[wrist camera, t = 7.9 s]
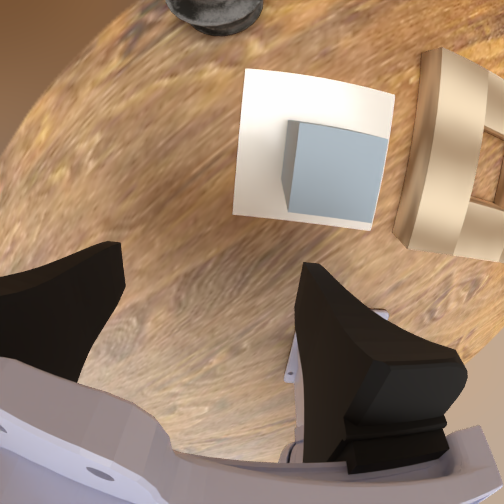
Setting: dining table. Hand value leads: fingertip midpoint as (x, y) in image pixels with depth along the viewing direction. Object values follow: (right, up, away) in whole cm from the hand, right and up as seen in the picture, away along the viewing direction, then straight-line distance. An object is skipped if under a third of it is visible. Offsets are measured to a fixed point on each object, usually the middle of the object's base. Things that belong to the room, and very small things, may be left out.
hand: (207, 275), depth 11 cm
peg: (+6, +7, +7) cm, 12 cm away
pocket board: (+20, +8, +7) cm, 22 cm away
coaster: (+6, +8, +8) cm, 12 cm away
